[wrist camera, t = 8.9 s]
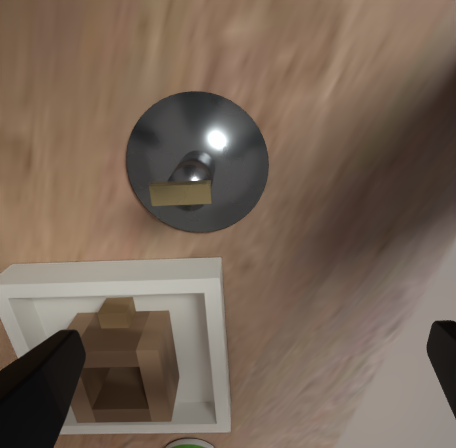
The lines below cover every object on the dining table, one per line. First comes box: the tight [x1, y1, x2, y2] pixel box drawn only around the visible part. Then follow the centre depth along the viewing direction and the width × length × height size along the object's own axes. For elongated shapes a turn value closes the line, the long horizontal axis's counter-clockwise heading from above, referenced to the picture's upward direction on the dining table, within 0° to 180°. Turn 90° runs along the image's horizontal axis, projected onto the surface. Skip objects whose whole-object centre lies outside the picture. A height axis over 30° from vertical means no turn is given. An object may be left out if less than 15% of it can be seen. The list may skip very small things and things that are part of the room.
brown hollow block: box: [67, 297, 180, 423], centre depth 21 cm, size 8×6×4 cm
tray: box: [0, 257, 231, 434], centre depth 22 cm, size 14×14×2 cm
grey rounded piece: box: [127, 91, 269, 232], centre depth 16 cm, size 8×8×5 cm
